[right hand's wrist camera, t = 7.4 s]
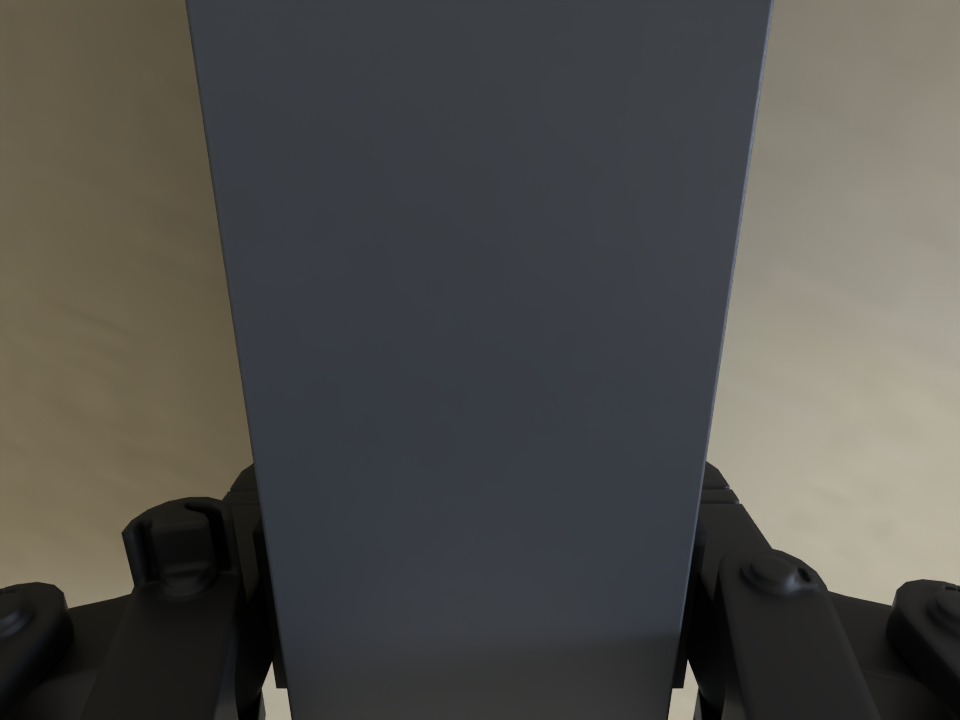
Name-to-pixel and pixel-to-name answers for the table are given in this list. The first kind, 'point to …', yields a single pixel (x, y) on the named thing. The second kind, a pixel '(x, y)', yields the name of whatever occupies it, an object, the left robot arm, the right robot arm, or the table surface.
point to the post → (479, 333)
